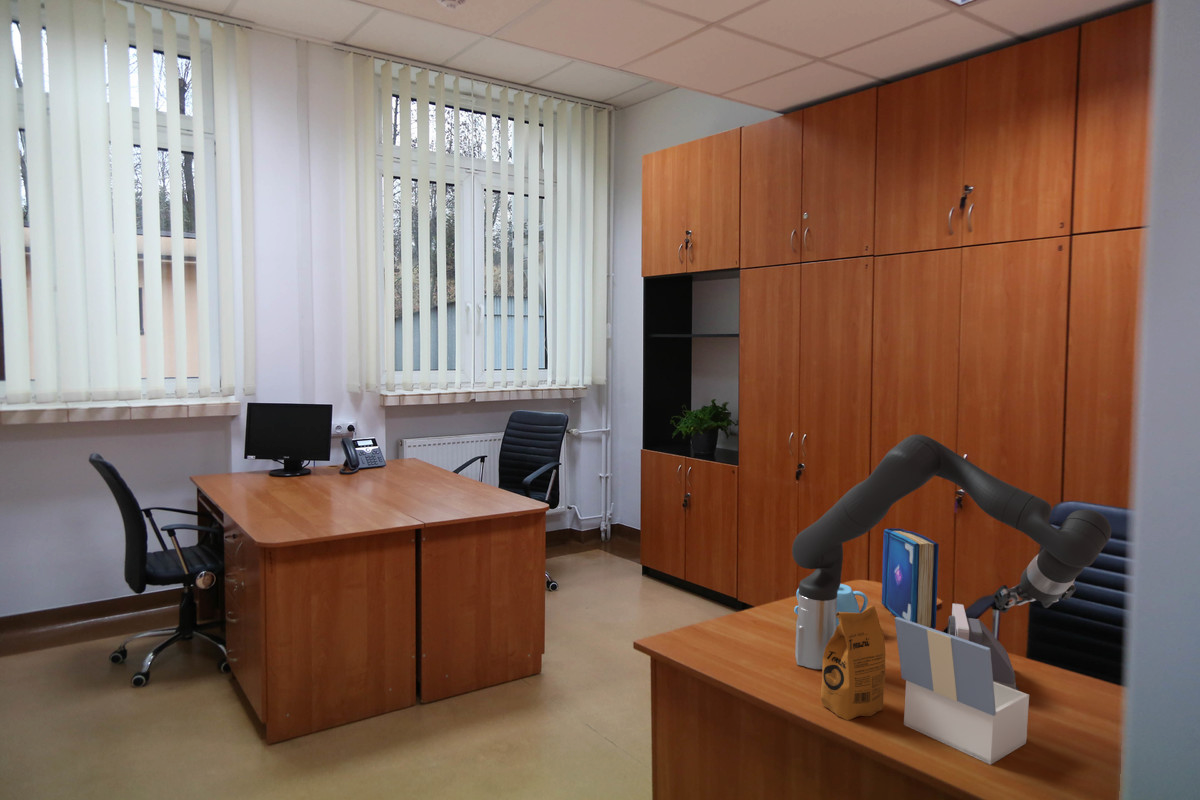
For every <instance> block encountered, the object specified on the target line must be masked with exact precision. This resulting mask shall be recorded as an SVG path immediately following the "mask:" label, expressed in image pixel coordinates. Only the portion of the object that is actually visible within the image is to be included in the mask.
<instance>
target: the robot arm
mask: <svg viewBox="0 0 1200 800" xmlns="http://www.w3.org/2000/svg"><path fill="white" fill-rule="evenodd" d="M934 477H939V478H942V479H945V480H947V481H949V482H951V483H953V484H956V485H957V486H958V487H959V488H961V489H962V490H963V491H964V492H965V493H967V495H968V496H969V497H970V498H971V499H972V500H973V502H974V503H975V504H976V505H977V506H978V507H979V508H980V509H981V510H982V511H983V512H984V513H985V514H987V515H988V516H990V517H992V518H993V519H995V520H996V521H998V522H1001V523H1003V524H1004V525H1006V526H1009V527H1010V528H1013V529H1015V530H1018V531H1019V532H1021V533H1023V534H1025V535H1026V536H1028V537H1029V538H1030V539H1031V540H1032V541H1034V542H1035V543H1036V544H1038V545H1039V546H1041V547H1042V548H1043V549H1042V550H1041V551H1040V552H1039V553H1038V554H1037V555H1035V556H1034V557H1033V559H1031V561H1030V563H1028V565H1027V566H1026V568H1025V569H1024V570H1023V571H1022V573H1021V576H1020V580H1019V581H1020V582H1019V583H1017V584H1016V585H1015V586H1013V587H1011V588H1010V587H1008V585H1007V584H1003V585H1001V586H1000V587H999V588H998V589H997V590H996V591H995V592H994V593H993V595H992V598H993V600H994V602H995V607H996V608H998V609H999V612H1001V613H1002V614H1007V613H1008V611H1009V610H1010V609H1011V607H1013V606H1022V605H1024V604H1025V605H1026V603H1029V602H1035V601H1038V602H1041V604H1042V606H1043V608H1044V609H1048V608H1049V607H1051V605H1053V604H1054V603H1057V602H1059V599H1062V600H1063V601H1067V600H1069V599H1070V597H1072V595H1073V594H1074V593H1075V592H1076V591H1077V588H1076V586H1075V583H1074V582H1075V580H1076V578H1078V576H1079V575H1080V574H1081V573H1082V572H1083V571H1084V569H1085V568H1086V567H1087V568H1088V567H1090V566H1091V565H1092V564H1093V563H1094V562H1095V560H1096V559H1097V557H1098V556H1099V555H1100V553H1101V551H1102V550H1103V549H1104V548H1105V546H1106V545H1107V543H1108V542H1109V541H1110V539H1111V537H1112V527H1111V524H1110V522H1109V521H1108V519H1107V518H1106V517H1105V516H1104V515H1103V514H1101V513H1100V512H1099V511H1098V512H1097V511H1095V510H1092V509H1078V510H1075V511H1073V512H1071V513H1069V515H1068V516H1067V517H1066V518H1065V520H1064V521H1063V523H1062V524H1061V525H1060V527H1059V528H1058V529H1057V528H1055V527H1054V525H1051V523H1050V522H1049V520H1050V518H1051V514H1052V506H1051V504H1050V502H1048V501H1046V500H1045V499H1043V498H1041V497H1038V496H1036V495H1034V494H1033V493H1031V492H1028V491H1025V490H1023V489H1021V488H1018V487H1016V486H1014V485H1012V484H1010V483H1008V482H1005V481H1003V480H1001V479H999V478H997V477H996V476H994V475H992V474H990V473H988V472H987V471H985V470H983V469H982V468H980V467H979V466H977V465H976V464H974V463H973V462H971V461H969V460H968V459H966V458H965V457H963V456H961V455H960V454H958V453H956V452H955V451H954V450H952V449H950V448H949V447H947V446H946V445H944V444H942V443H940V442H939V441H937V440H936V439H934V438H932V437H929V436H927V435H925V434H920V433H919V434H917V433H916V434H912V435H909V436H907V437H905V438H904V439H902V441H900V442H899V443H898V444H896V445H895V446H894V447H893V448H891V449H890V450H889V451H887V453H885V456H884V457H883V458H882V460H881V461H880V462H879V463H878V465H877V466H876V467H875V468H874V470H873V471H872V472H871V474H870V475H869V476H868V477H867V478H866V479H864V480H863V481H861V482H858V483H857V484H855V485H854V486H853V487H851V488H850V489H849V490H848V491H847V492H846V493H845V494H844V495H843V496H841V498H840V499H838V500H837V502H836V503H835V504H834V505H833V506H832V507H830V509H828V510H827V511H826V512H825V513H824V514H823V515H822V516H821V517H820V518H819V519H817V520H816V521H815V522H812V524H810V525H809V526H807V527H806V528H804V529H803V530H801V531H800V532H799V533H798V534H797V535H796V537H795V538H794V540H793V542H792V547H791V552H792V553H791V554H792V558H793V560H794V562H795V563H796V565H798V567H801V568H803V569H807V570H814V571H813V572H812V573H811V574H809V575H808V576H806V577H805V578H803V579H801V580H800V582H799V584H798V589H799V598H798V600H797V604H798V609H797V610H798V615H797V619H796V624H795V625H796V626H795V629H796V630H795V652H794V656H795V661H796V665H797V666H801V667H805V668H808V669H812V670H822V666H823V655H824V651H825V648H826V646H827V644H828V642H829V640H830V639H831V638H832V636H833V635H834V633H835V630H836V614H837V593H838V589H839V587H840V584H842V583H841V582H842V570H843V562H844V547H843V544H844V543H847V542H849V541H851V540H854V539H857V538H859V537H861V536H863V535H865V534H867V533H868V532H869V531H871V530H872V529H873V528H874V527H876V525H878V524H879V523H880V522H881V521H882V520H883V519H884V518H885V516H886V515H887V514H888V512H889V511H890V508H891V507H892V506H893V505H894V504H895V503H897V502H898V501H900V500H901V499H903V498H904V497H906V496H907V495H909V494H911V493H913V492H914V491H916V490H919V489H920V488H921V487H923V486H925V484H927V483H928V482H929V481H930V480H931V479H933V478H934ZM1010 600H1011V601H1010Z"/></svg>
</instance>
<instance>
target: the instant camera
mask: <svg viewBox="0 0 1200 800" xmlns="http://www.w3.org/2000/svg"><path fill="white" fill-rule="evenodd" d="M947 624H948V625H947V634H950V635H953V636H956V637H959V638H962V639H965V640H968V641H971V642H974V643H977V644H980V645H982V646H985V647H988V648H990V652H991V663H992V674H993V682H996V683H999V684H1001V685H1004V686H1007V687H1010V688H1012V689H1015V690H1018V691H1020V689H1019V687H1018V686H1016V685H1017V683H1016V673H1015V671H1014V668H1013V664H1012V662H1011V658H1010V657H1009V654H1008V651H1007V650H1006V648H1005V647H1004V646H1003V644H1001V642H1000V641H999V640H998V639H997V638H996V637H995V635H994V634H993V633H992V632H991V631H990V630H989V628H988V626H986V625H985V624H984V622H982V621H981V619H979V618H974V617H973V618H971V617H967V615H966V611H965V606H964V604H961V603H953V602H952V608H951V615H949V616H948V622H947Z"/></svg>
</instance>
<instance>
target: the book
mask: <svg viewBox="0 0 1200 800" xmlns="http://www.w3.org/2000/svg"><path fill="white" fill-rule="evenodd" d="M882 541H883V544H882V545H883V546H882V547H883V549H882V571H881V572H882V580H881V605H882V606H883V607H884V608H886V609H888V611H889V613H890V612H891V614H892V615H893V616H894V617H895V616H896V617H899V618H902V619H905V620H908V621H911V622H914V623H917V624H920V625H923V626H926V627H929V628H932V629H935V630H936V627H937V608H938V607H937V605H938V603H937V601H938V581H939V580H938V576H939V575H938V574H939V549H940V546H939V545H940V544H939V543H938V542H936V541H934V540H932V539H930V538H929V537H926V536H925V535H922V534H920V533H918V532H915V531H912V530H911V531H909V530H906V529H903V528H895V527H892V528H886V529H884V530H883V540H882ZM896 617H895V618H896Z"/></svg>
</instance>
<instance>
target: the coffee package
mask: <svg viewBox="0 0 1200 800" xmlns="http://www.w3.org/2000/svg"><path fill="white" fill-rule="evenodd" d="M836 617H837V618H839V625H838V626H837V628H836V630H835V633H834V635H833V636H832V638H831V639H830V640H829V642H828V644H827V646H826V648H825V651H824V655H823V666H822V669H821V670H822V674H821V676H822V678H821V688H820V700H821V705H822V706H823V707H824V708H827V709H828V710H830V711H831V712H832V713H834V714H835V716H836V717H839V718H842V719H844V720H846V721H851V720H853V719H856V718H857V717H859V716H860V717H861V716H863V717H871V716H873V715H875V714H876V713H877V712H880V711H883V709H884V694H885V683H886V682H885V680H886V679H885V678H886V641H885V635H884V633H883V628H882V626H881V624H880V623H881V622H880V620H879V617H878V613H877V609H876V607H875V605H869V606H868V605H867V607H866V609H865V610H864V611H863V612H862V613H849V612H837V614H836Z"/></svg>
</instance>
